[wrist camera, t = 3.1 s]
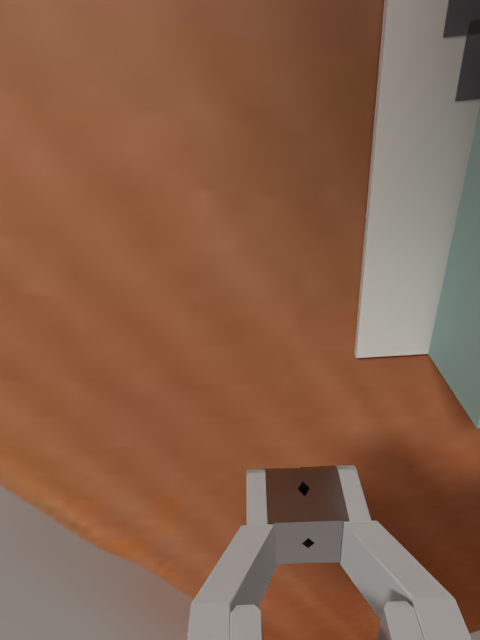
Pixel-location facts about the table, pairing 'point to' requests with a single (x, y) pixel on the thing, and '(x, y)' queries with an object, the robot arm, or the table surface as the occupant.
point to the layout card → (416, 168)
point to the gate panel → (462, 297)
